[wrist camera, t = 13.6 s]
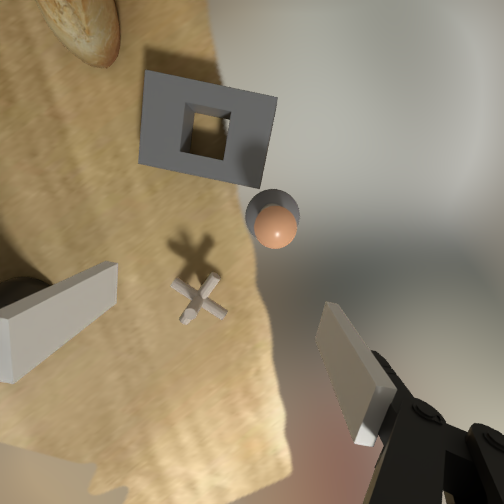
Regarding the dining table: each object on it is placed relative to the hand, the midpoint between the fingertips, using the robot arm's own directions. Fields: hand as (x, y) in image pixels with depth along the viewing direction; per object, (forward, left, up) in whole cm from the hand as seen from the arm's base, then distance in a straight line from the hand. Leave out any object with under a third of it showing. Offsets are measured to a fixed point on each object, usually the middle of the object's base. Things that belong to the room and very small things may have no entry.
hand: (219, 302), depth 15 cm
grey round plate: (+3, +3, -27) cm, 27 cm away
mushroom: (+3, +3, -27) cm, 27 cm away
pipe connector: (-6, -12, -27) cm, 30 cm away
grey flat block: (-9, +13, -27) cm, 31 cm away
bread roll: (-28, +26, -27) cm, 47 cm away
